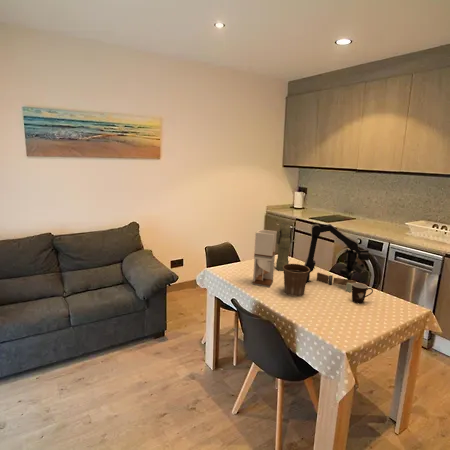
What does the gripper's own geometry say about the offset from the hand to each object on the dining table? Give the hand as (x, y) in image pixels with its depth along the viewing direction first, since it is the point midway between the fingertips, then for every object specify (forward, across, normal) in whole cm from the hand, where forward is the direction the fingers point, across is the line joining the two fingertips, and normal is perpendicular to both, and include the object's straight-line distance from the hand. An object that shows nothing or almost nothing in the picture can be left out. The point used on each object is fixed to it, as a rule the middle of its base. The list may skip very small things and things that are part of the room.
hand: (349, 281), depth 220 cm
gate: (+2, -4, +2) cm, 4 cm away
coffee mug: (+3, -19, -16) cm, 25 cm away
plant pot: (+1, -39, +17) cm, 42 cm away
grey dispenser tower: (+1, -42, +39) cm, 58 cm away
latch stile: (+3, -10, -4) cm, 11 cm away
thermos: (+2, -8, +49) cm, 49 cm away
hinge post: (+2, -8, +14) cm, 16 cm away
